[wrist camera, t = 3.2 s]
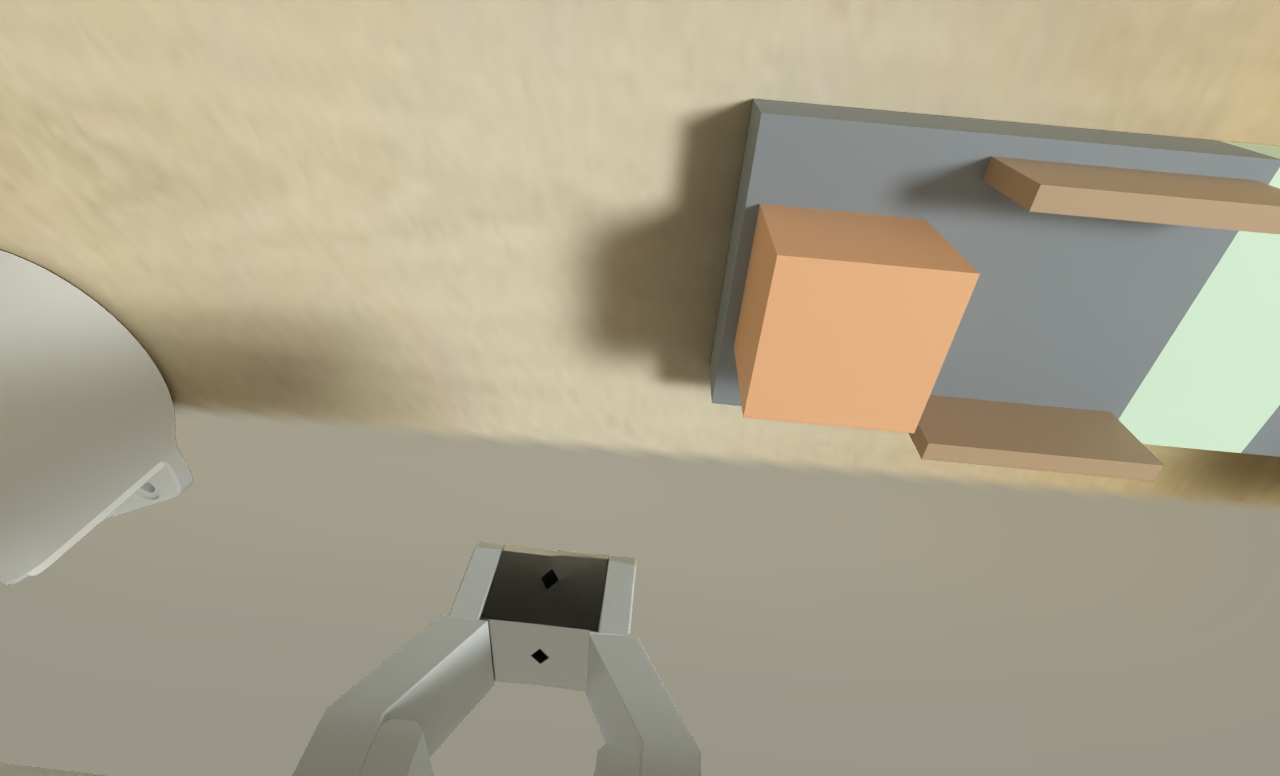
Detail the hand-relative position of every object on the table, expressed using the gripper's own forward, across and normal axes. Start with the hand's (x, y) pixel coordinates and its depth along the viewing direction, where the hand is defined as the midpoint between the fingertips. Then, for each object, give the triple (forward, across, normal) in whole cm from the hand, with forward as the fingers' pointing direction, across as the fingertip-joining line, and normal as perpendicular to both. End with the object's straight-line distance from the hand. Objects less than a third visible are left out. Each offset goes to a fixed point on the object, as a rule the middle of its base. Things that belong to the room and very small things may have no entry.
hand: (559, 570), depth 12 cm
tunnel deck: (+18, +20, 0) cm, 27 cm away
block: (+15, +8, 0) cm, 17 cm away
